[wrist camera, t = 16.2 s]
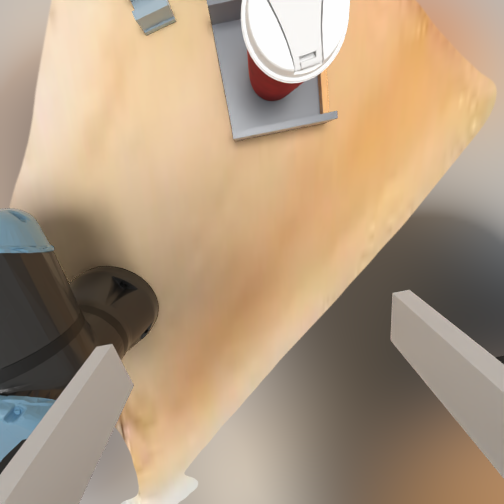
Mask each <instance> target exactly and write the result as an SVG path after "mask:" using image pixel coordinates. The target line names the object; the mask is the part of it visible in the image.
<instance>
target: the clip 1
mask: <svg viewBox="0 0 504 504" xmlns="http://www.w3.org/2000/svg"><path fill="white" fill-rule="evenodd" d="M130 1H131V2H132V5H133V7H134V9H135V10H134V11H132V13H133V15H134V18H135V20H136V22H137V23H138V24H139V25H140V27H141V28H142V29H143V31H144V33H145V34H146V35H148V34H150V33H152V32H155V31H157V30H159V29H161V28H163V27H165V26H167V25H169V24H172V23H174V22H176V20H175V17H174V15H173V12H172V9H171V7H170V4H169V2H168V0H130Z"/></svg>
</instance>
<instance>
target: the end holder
mask: <svg viewBox="0 0 504 504" xmlns="http://www.w3.org/2000/svg"><path fill="white" fill-rule="evenodd" d="M207 4H208V9H209V14H210V18H211V23H212V28H213V33H214V38H215V44H216V49H217V54H218V59H219V64H220V69H221V75H222V80H223V85H224V90H225V95H226V100H227V106H228V111H229V116H230V121H231V126H232V133H233V139H234V141H239V140H244V139H249V138H254V137H258V136H263V135H268V134H273V133H278V132H283V131H288V130H293V129H298V128H303V127H308V126H313V125H318V124H323V123H326V122H329V121H332V120H334V119H337V118H338V116H337V111H334V112H329V100H328V81H327V68H326V69H325V70H324V71H323V72H321V73H320V74H319V75H317V76H316V77H314V78H312V79H310V80H307V81H305V82H303V83H302V84H301V85H299V86H298V87H297V88H296V89H294V90H293V91H292V92H291V93H289V94H288V95H287V96H285V97H284V98H282V99H280V100H277V101H267V100H264V99H262V98H261V97H260V96H258V95H257V94H256V92H255V91H254V89H253V87H252V85H251V82H250V77H249V68H248V55H247V47H246V44H245V41H244V38H243V33H242V27H241V5H242V0H207Z"/></svg>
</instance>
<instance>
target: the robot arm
mask: <svg viewBox="0 0 504 504" xmlns="http://www.w3.org/2000/svg"><path fill="white" fill-rule="evenodd" d="M53 251H54V247H53V246H52V245H50V244H49V242H48V240H47V238H46V236H45V235H44V233H43V231H42V229H41V227H40V226H39V224H38V222H37V221H36V219H35V218H34V217H33V216H32V215H30V214H29V213H27V212H25V211H22V210H18V209H10V208H9V209H0V504H79V503H80V500H81V498H82V496H83V494H84V492H85V489H86V488H87V485H88V483H89V481H90V479H91V477H92V475H93V472H94V470H95V468H96V466H97V464H98V462H99V460H100V457H101V455H102V453H103V451H104V448H105V447H106V444H107V442H108V440H109V438H110V436H111V434H112V432H113V429H114V427H115V425H116V423H117V421H118V419H119V416H120V414H121V412H122V410H123V408H124V406H125V404H126V401H127V399H128V397H129V395H130V393H131V391H132V388H133V386H134V385H133V383H132V381H131V379H130V377H129V375H128V373H127V371H126V369H125V367H124V365H123V363H122V361H121V360H122V358H123V356H124V355H125V353H126V352H127V351H128V350H129V349H131V348H132V347H133V346H134V345H135V344H137V343H138V342H139V341H140V340H141V339H143V338H144V337H145V336H146V335H147V334H148V333H149V331H150V330H151V328H152V327H153V325H154V323H155V321H156V319H157V316H158V302H157V298H156V296H155V294H154V292H153V290H152V289H151V287H150V286H149V285H148V284H147V283H146V282H145V281H144V280H143V279H142V278H140V277H139V276H137V275H136V274H134V273H132V272H130V271H127V270H125V269H121V268H117V267H108V266H105V267H96V268H93V269H90V270H87V271H85V272H84V273H82V274H81V275H80V276H78V277H77V278H76V279H74V280H73V281H72V282H71V283H70V284H69V283H68V281H67V279H66V277H65V275H64V273H63V271H62V269H61V267H60V265H59V262H58V260H57V258H56V256H55V254H54V252H53ZM391 341H392V342H393V344H394V345H395V346H396V347H397V349H398V350H399V351H400V352H401V353H402V355H403V356H404V357H405V358H406V360H407V361H408V362H409V363H410V364H411V366H412V367H413V368H414V369H415V370H416V372H417V373H418V374H419V375H420V377H421V378H422V379H423V380H424V382H425V383H426V384H427V385H428V386H429V388H430V389H431V390H432V391H433V393H434V394H435V395H436V396H437V397H438V399H439V400H440V401H441V402H442V403H443V405H444V406H445V407H446V408H447V410H448V411H449V412H450V413H451V415H452V416H453V417H454V418H455V419H456V421H457V422H458V423H459V424H460V426H461V427H462V428H463V429H464V430H465V432H466V433H467V434H468V435H469V436H470V438H471V439H472V440H473V441H474V443H475V444H476V445H477V446H478V448H479V449H480V450H481V451H482V452H483V454H484V455H485V456H486V457H487V459H488V460H489V461H490V462H491V463H492V465H493V466H494V467H495V468H496V469H497V471H498V472H499V473H500V474H501V476H502V477H503V478H504V356H500V357H494V356H492V355H491V354H490V353H489V352H487V351H486V350H485V349H484V348H482V347H481V346H480V345H478V344H477V343H476V342H475V341H473V340H472V339H470V337H468V336H467V335H466V334H465V333H463V332H462V331H461V330H460V329H458V328H457V327H456V326H454V325H453V324H452V323H451V322H449V321H448V320H447V319H445V318H444V317H443V316H442V315H441V314H439V313H438V312H437V311H435V310H434V309H433V308H432V307H430V306H429V305H428V304H427V303H425V302H424V301H423V300H422V299H420V298H419V297H418V296H416V295H415V294H414V293H413V292H411V291H410V290H406V291H401V292H395V293H393V294H392V317H391Z"/></svg>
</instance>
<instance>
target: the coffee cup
mask: <svg viewBox="0 0 504 504" xmlns="http://www.w3.org/2000/svg"><path fill="white" fill-rule="evenodd" d="M349 5H350V0H242V5H241V27H242V33H243V38H244V41H245V44H246V47H247V55H248V68H249V77H250V82H251V85H252V87H253V89H254V91H255V92H256V94H257V95H258V96H260V97H261V98H262V99H264V100H267V101H277V100H280V99H282V98H284V97H285V96H287V95H288V94H289V93H291V92H292V91H293V90H294V89H296V88H297V87H298V86H299V85H301V84H302V83H303V82H305V81H307V80H310V79H312V78H314V77H316V76H317V75H319V74H320V73H321V72H323V71H324V70H325V69H326V68H327V67H328V66H329V65H330V63H331V62H332V61H333V60H334V58H335V57H336V55H337V53H338V52H339V50H340V48H341V46H342V43H343V41H344V38H345V35H346V31H347V26H348V21H349Z"/></svg>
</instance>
